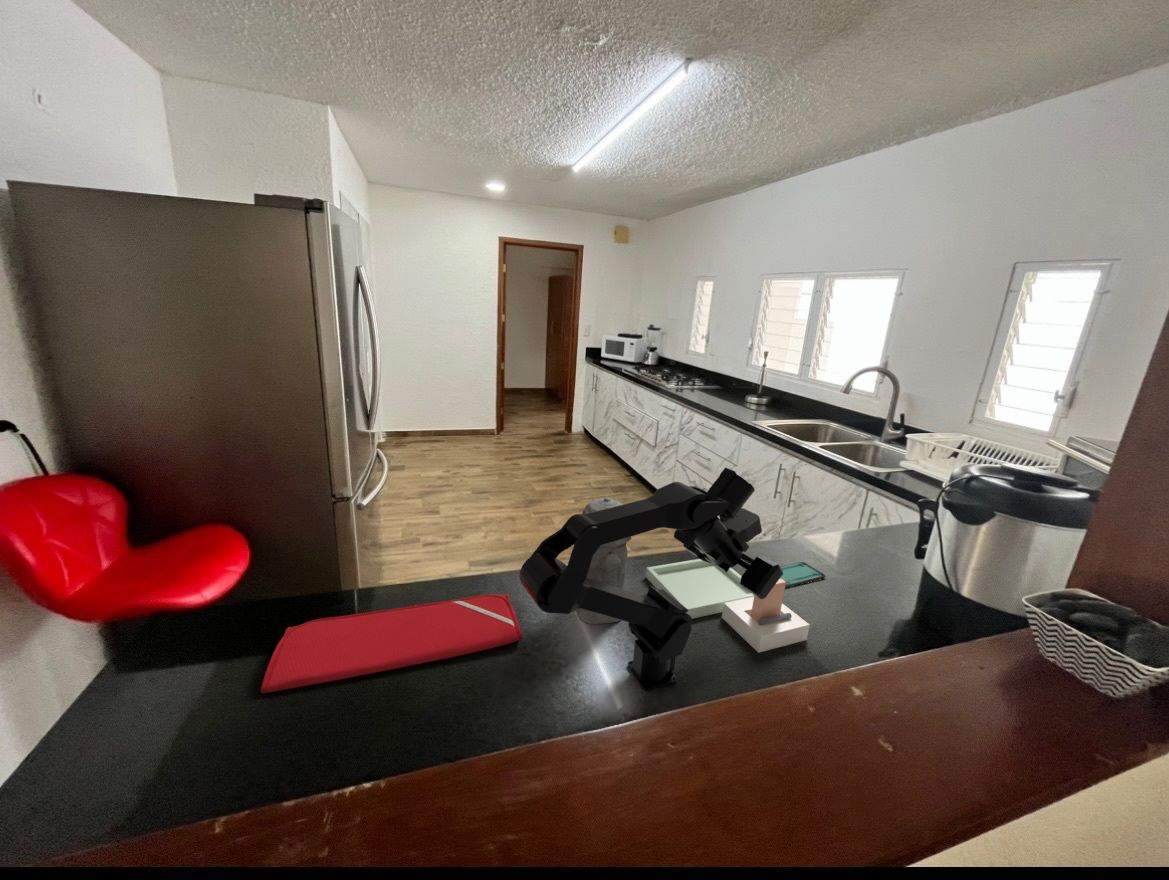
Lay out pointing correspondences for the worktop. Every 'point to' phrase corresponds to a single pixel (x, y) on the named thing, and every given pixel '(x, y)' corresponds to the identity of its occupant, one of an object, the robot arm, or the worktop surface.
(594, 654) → the worktop surface
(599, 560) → the figurine
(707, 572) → the tray
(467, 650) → the dish drying mat
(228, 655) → the worktop surface
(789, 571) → the smartphone
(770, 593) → the salmon pink rectangular block
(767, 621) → the white slotted base
